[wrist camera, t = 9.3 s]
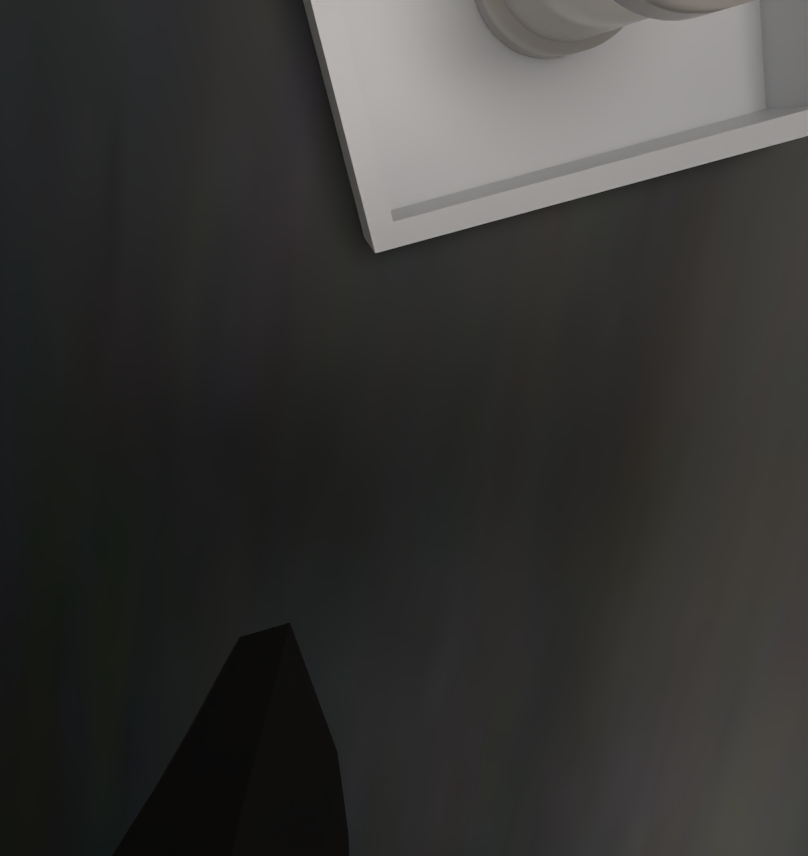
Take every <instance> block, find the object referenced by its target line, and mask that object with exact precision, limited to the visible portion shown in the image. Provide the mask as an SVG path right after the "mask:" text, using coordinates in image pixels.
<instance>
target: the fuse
mask: <svg viewBox="0 0 808 856" xmlns="http://www.w3.org/2000/svg"><path fill="white" fill-rule="evenodd" d="M474 1H475V4H476V7H477V9H478V11H479V13H480V15H481V18H482V19H483V21H484V22H485V24H486V26H487V27H488V29H489V30H490V31H491V32H492V33H493V35H494V36H495V37H496V38H497V39H498V40H499V41H501V42H502V43H503V44H504V45H506V46H507V47H508V48H510V49H511V50H513V51H515V52H517V53H519V54H522V55H525V56H528V57H531V58H538V59H555V58H561V57H565V56H568V55H571V54H575V53H578V52H582V51H585V50H588V49H592V48H594V47H596V46H598V45H600V44H602V43H604V42H605V41H607V40H609V39H610V38H612V37H613V36H614V35H615V34H617V33H618V32H619V31H620V30H621V29H622V28H623V27H624V26H626V25H629V24H632V23H635V22H638V21H641V20H644V19H647V18H652V19H658V20H666V21H680V20H687V19H693V18H697V17H700V16H704V15H707V14H711V13H714V12H717V11H721V10H724V9H728V8H731V7H734V6H738V5H741V4H744V3H748V2H751V1H755V0H474Z"/></svg>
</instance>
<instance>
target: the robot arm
mask: <svg viewBox="0 0 808 856" xmlns="http://www.w3.org/2000/svg"><path fill="white" fill-rule="evenodd" d="M112 856H349V841H348V828H347V821H346V813H345V805H344V797H343V790H342V783H341V776H340V769H339V762H338V755H337V750H336V747H335V744H334V742H333V739H332V736H331V734H330V731H329V728H328V725H327V723H326V720H325V717H324V714H323V712H322V709H321V706H320V704H319V701H318V698H317V695H316V693H315V690H314V687H313V685H312V682H311V679H310V676H309V674H308V671H307V668H306V665H305V663H304V660H303V657H302V655H301V652H300V649H299V646H298V644H297V641H296V638H295V636H294V633H293V630H292V627H291V625H290V623H287V624H284V625H280V626H277V627H273V628H270V629H267V630H263V631H260V632H256V633H253V634H249V635H246V636H242V637H240V638H239V640H238V641H237V643H236V645H235V646H234V648H233V650H232V651H231V653H230V655H229V657H228V658H227V660H226V662H225V664H224V666H223V668H222V669H221V671H220V673H219V675H218V677H217V679H216V681H215V682H214V684H213V686H212V688H211V690H210V692H209V694H208V695H207V697H206V699H205V701H204V703H203V705H202V706H201V708H200V710H199V712H198V714H197V715H196V717H195V719H194V721H193V723H192V725H191V726H190V728H189V730H188V732H187V733H186V735H185V737H184V739H183V740H182V742H181V744H180V746H179V747H178V749H177V751H176V752H175V754H174V756H173V758H172V759H171V761H170V763H169V765H168V766H167V768H166V770H165V771H164V773H163V775H162V777H161V778H160V780H159V782H158V783H157V785H156V787H155V788H154V790H153V792H152V793H151V795H150V797H149V798H148V800H147V802H146V803H145V805H144V806H143V808H142V809H141V811H140V812H139V814H138V816H137V817H136V819H135V820H134V822H133V823H132V825H131V826H130V828H129V830H128V831H127V833H126V834H125V836H124V837H123V839H122V841H121V842H120V844H119V845H118V847H117V848H116V850H115V851H114V853H113V855H112Z"/></svg>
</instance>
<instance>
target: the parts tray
mask: <svg viewBox="0 0 808 856" xmlns="http://www.w3.org/2000/svg"><path fill="white" fill-rule="evenodd" d="M303 3H304V7H305V11H306V15H307V19H308V23H309V27H310V30H311V34H312V38H313V42H314V46H315V50H316V54H317V57H318V61H319V65H320V69H321V73H322V77H323V81H324V84H325V88H326V92H327V96H328V100H329V104H330V108H331V111H332V115H333V119H334V123H335V127H336V131H337V135H338V138H339V142H340V146H341V150H342V154H343V158H344V162H345V165H346V169H347V173H348V177H349V181H350V185H351V188H352V192H353V196H354V200H355V204H356V208H357V212H358V215H359V219H360V223H361V227H362V231H363V235H364V238H365V240H366V241H367V242H368V244H369V245H370V247H371V248H372V249H373V251H374V252H375V253H378V252H382V251H386V250H389V249H393V248H397V247H400V246H404V245H408V244H411V243H415V242H419V241H423V240H426V239H430V238H434V237H437V236H441V235H445V234H448V233H452V232H456V231H459V230H463V229H467V228H470V227H474V226H478V225H481V224H485V223H489V222H492V221H496V220H500V219H503V218H507V217H511V216H514V215H518V214H522V213H525V212H529V211H533V210H537V209H540V208H544V207H548V206H551V205H555V204H559V203H562V202H566V201H570V200H573V199H577V198H581V197H584V196H588V195H592V194H595V193H599V192H603V191H606V190H610V189H614V188H617V187H621V186H625V185H628V184H632V183H636V182H639V181H643V180H647V179H651V178H654V177H658V176H662V175H665V174H669V173H673V172H676V171H680V170H684V169H687V168H691V167H695V166H698V165H702V164H706V163H709V162H713V161H717V160H720V159H724V158H728V157H731V156H735V155H739V154H742V153H746V152H750V151H753V150H757V149H761V148H765V147H768V146H772V145H776V144H779V143H783V142H787V141H790V140H794V139H798V138H801V137H805V136H808V0H755V1H751V2H748V3H744V4H741V5H738V6H734V7H731V8H728V9H724V10H721V11H717V12H714V13H711V14H707V15H704V16H700V17H697V18H693V19H687V20H680V21H666V20H658V19H652V18H647V19H644V20H641V21H638V22H635V23H632V24H629V25H626V26H624V27H623V28H622V29H621V30H620V31H619V32H618V33H617V34H615V35H614V36H613V37H612V38H610V39H609V40H607V41H605V42H604V43H602V44H600V45H598V46H596V47H594V48H592V49H588V50H585V51H582V52H578V53H575V54H571V55H568V56H565V57H561V58H555V59H538V58H531V57H528V56H525V55H522V54H519V53H517V52H515V51H513V50H511V49H510V48H508V47H507V46H506V45H504V44H503V43H502V42H501V41H499V40H498V39H497V38H496V37H495V36H494V35H493V33H492V32H491V31H490V30H489V29H488V27H487V26H486V24H485V22H484V21H483V19H482V18H481V15H480V13H479V11H478V9H477V7H476V4H475V1H474V0H303Z"/></svg>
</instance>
